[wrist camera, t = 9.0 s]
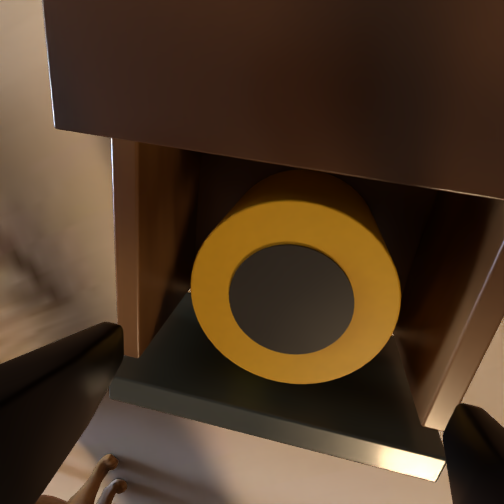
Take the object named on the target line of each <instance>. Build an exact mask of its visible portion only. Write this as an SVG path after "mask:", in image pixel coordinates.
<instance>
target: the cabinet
mask: <svg viewBox="0 0 504 504" xmlns="http://www.w3.org/2000/svg"><path fill="white" fill-rule="evenodd" d="M42 5H43V16H44V26H45V36H46V47H47V57H48V67H49V77H50V88H51V98H52V108H53V118H54V127H55V128H56V129H60V130H66V131H72V132H79V133H85V134H91V135H97V136H103V137H110V138H116V139H122V140H128V141H135V142H141V143H147V144H153V145H159V146H166V147H172V148H178V149H184V150H191V151H197V152H203V153H209V154H215V155H222V156H228V157H234V158H240V159H247V160H253V161H259V162H265V163H271V164H278V165H284V166H290V167H296V168H303V169H309V170H315V171H321V172H327V173H334V174H340V175H346V176H352V177H359V178H365V179H371V180H377V181H383V182H390V183H396V184H402V185H408V186H415V187H421V188H427V189H433V190H440V191H446V192H452V193H458V194H464V195H471V196H477V197H483V198H489V199H496V200H502V201H504V0H42Z"/></svg>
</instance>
